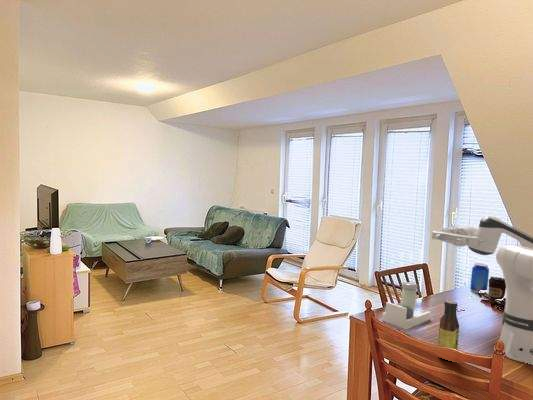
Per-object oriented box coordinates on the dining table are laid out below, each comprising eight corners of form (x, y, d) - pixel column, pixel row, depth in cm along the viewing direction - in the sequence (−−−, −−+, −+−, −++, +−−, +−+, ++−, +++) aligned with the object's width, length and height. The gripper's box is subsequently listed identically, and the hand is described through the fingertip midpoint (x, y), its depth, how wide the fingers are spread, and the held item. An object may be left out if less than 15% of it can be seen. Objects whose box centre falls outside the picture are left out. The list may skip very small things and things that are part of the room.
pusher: (412, 322, 165) (413, 309, 164) (407, 324, 162) (409, 311, 162) (394, 316, 171) (395, 303, 170) (390, 317, 169) (391, 305, 168)
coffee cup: (501, 306, 196) (504, 281, 195) (483, 301, 202) (486, 277, 201) (507, 303, 201) (510, 279, 201) (490, 299, 208) (492, 275, 207)
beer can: (487, 292, 221) (489, 264, 219) (486, 295, 214) (489, 267, 212) (470, 289, 225) (473, 261, 224) (469, 292, 218) (471, 264, 217)
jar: (416, 319, 170) (420, 284, 168) (409, 322, 165) (413, 286, 164) (403, 315, 174) (406, 281, 173) (396, 318, 170) (399, 283, 169)
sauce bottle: (458, 363, 132) (464, 306, 130) (439, 360, 133) (444, 304, 131) (453, 354, 138) (458, 300, 137) (434, 352, 139) (439, 298, 138)
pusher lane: (429, 319, 172) (431, 300, 171) (406, 329, 159) (408, 309, 158) (406, 311, 180) (407, 293, 180) (382, 320, 167) (383, 301, 167)
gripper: (483, 247, 177) (471, 250, 168) (438, 240, 192) (425, 242, 183) (484, 233, 177) (473, 236, 168) (439, 227, 192) (427, 229, 183)
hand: (448, 239), depth 176 cm, fingers open, 8 cm apart
